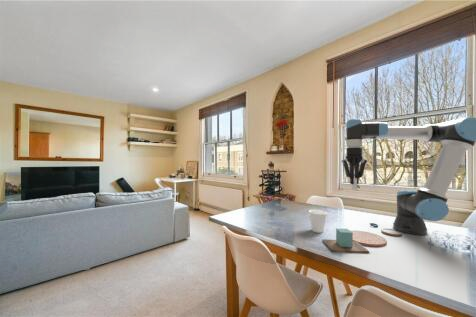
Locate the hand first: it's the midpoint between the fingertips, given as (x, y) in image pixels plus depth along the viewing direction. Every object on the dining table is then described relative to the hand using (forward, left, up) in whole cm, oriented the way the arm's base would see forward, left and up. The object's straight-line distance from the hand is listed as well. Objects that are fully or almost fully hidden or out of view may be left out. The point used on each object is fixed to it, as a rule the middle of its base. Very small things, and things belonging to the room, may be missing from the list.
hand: (354, 190), depth 112 cm
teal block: (+13, +18, -23) cm, 32 cm away
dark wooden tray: (+13, +18, -24) cm, 33 cm away
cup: (+19, -2, -24) cm, 31 cm away
